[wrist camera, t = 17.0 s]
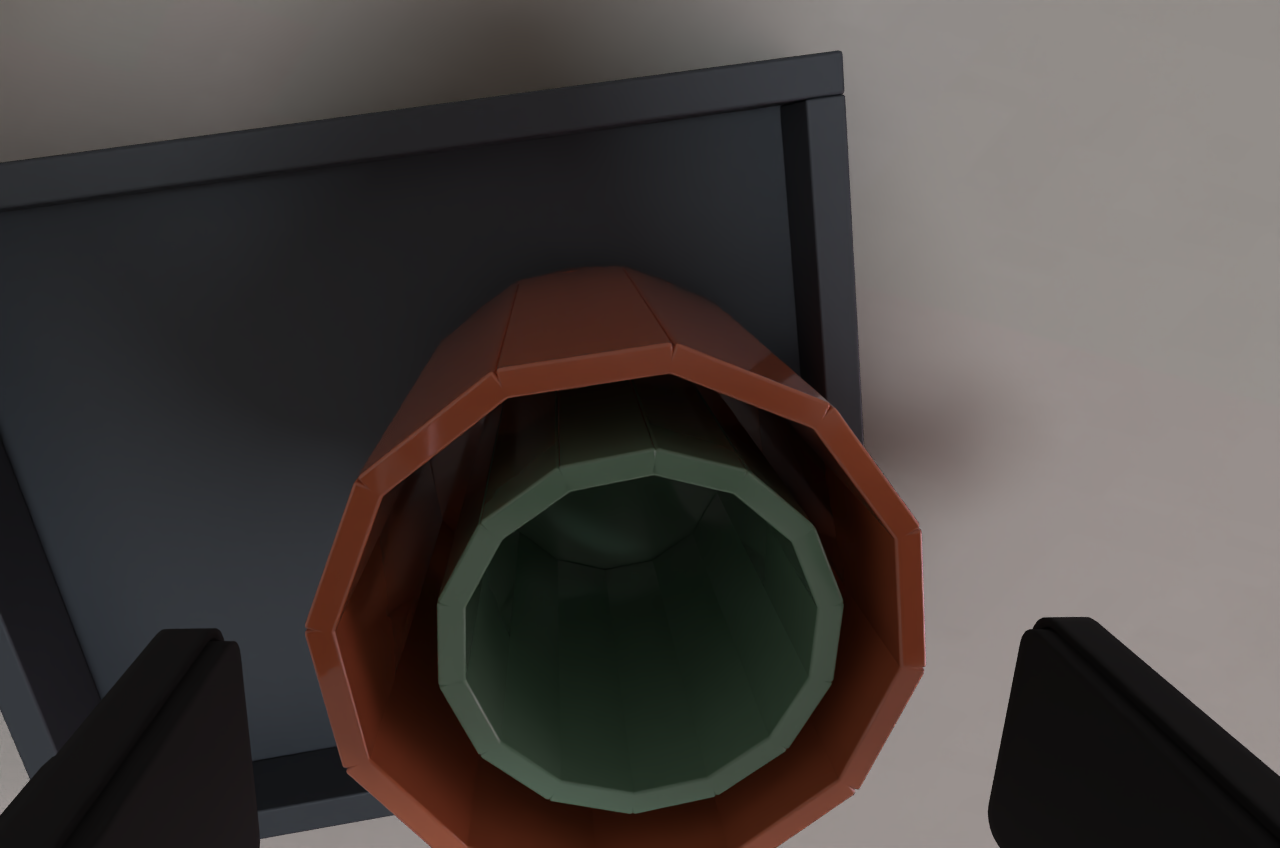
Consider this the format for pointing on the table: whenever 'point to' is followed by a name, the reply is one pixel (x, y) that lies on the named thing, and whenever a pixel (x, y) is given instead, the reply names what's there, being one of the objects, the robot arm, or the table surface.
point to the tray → (343, 349)
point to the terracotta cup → (427, 520)
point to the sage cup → (632, 598)
